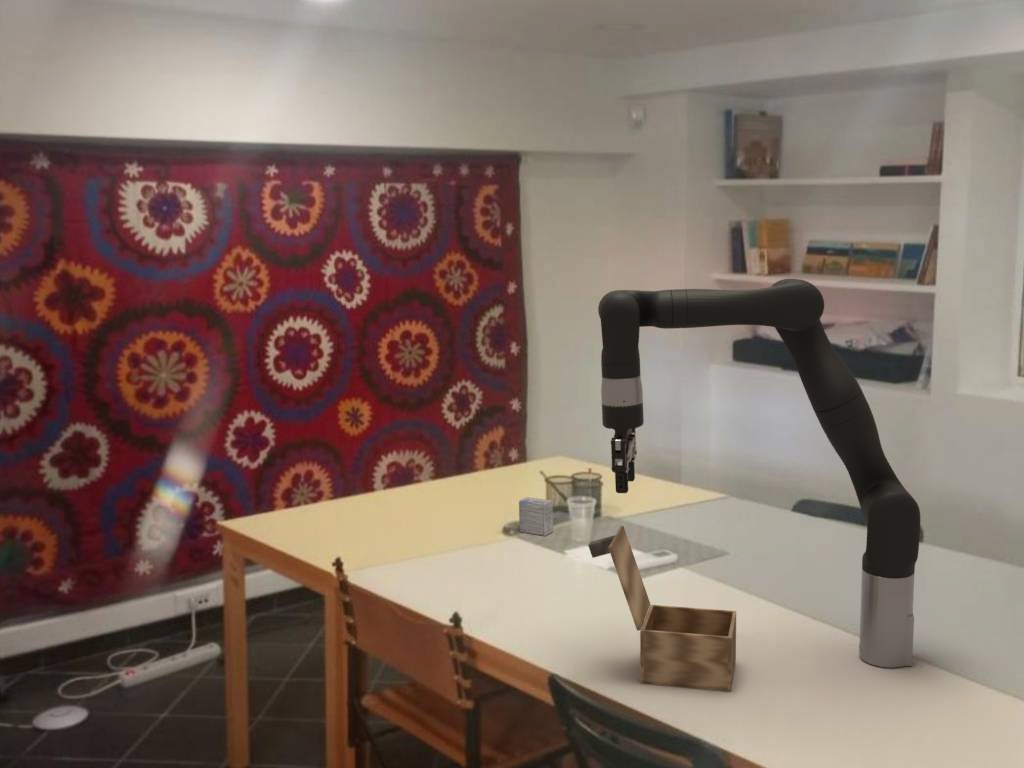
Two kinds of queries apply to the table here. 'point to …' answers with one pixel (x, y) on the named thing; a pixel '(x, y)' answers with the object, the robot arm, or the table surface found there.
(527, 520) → the medicine box
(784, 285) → the robot arm
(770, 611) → the table surface
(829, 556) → the table surface
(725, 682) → the wooden box
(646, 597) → the lid flap
